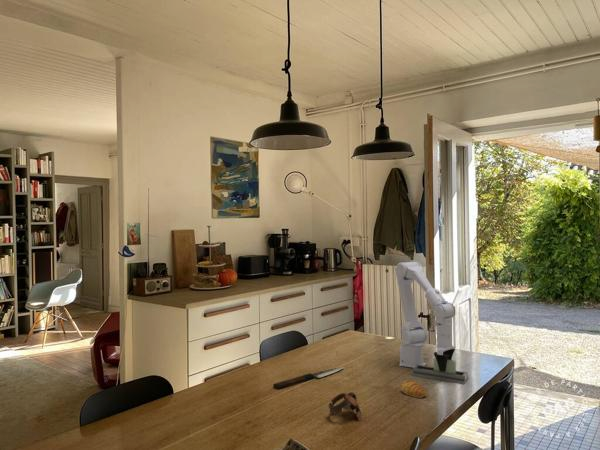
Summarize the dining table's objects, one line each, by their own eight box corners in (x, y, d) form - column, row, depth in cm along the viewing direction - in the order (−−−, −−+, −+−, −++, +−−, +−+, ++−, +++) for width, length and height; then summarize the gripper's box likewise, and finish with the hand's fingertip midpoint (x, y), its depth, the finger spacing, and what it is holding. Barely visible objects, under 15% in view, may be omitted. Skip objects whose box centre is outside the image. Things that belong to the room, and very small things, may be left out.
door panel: (433, 374, 181) (433, 358, 181) (435, 372, 182) (434, 357, 182) (454, 377, 176) (454, 361, 176) (455, 375, 178) (455, 360, 178)
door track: (411, 375, 182) (411, 369, 182) (417, 369, 189) (417, 363, 189) (463, 384, 172) (463, 377, 172) (468, 378, 178) (468, 371, 178)
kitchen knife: (281, 386, 166) (273, 382, 170) (281, 392, 166) (273, 388, 170) (348, 366, 190) (340, 363, 193) (348, 371, 190) (340, 368, 193)
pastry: (431, 396, 160) (431, 385, 160) (417, 400, 157) (417, 389, 157) (411, 388, 168) (411, 378, 168) (398, 392, 165) (398, 381, 165)
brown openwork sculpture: (360, 427, 138) (346, 404, 137) (334, 434, 142) (321, 412, 142) (369, 402, 148) (356, 381, 148) (345, 410, 153) (333, 389, 152)
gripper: (450, 339, 171) (450, 375, 171) (459, 331, 183) (459, 365, 183) (431, 337, 175) (431, 372, 175) (441, 329, 187) (441, 362, 187)
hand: (444, 368), depth 179 cm, fingers open, 7 cm apart
